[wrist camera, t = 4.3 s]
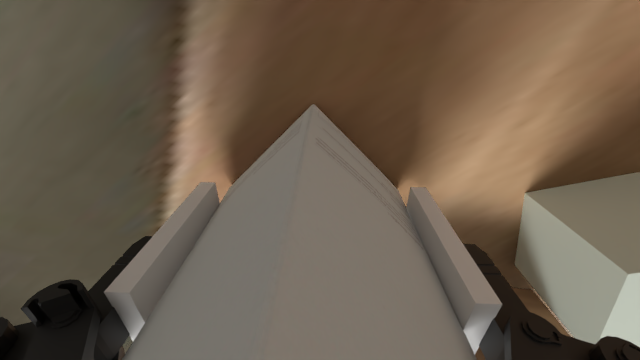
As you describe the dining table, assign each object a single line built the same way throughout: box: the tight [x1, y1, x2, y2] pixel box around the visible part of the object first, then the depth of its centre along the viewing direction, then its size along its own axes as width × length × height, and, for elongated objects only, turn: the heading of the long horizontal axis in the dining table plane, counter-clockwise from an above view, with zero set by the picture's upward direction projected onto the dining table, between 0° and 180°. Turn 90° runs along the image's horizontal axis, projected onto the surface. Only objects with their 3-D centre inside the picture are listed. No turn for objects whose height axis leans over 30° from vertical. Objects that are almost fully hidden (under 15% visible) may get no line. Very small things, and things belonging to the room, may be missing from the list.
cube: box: [515, 172, 640, 347], centre depth 13 cm, size 6×6×6 cm
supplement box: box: [122, 104, 477, 360], centre depth 10 cm, size 7×7×13 cm
